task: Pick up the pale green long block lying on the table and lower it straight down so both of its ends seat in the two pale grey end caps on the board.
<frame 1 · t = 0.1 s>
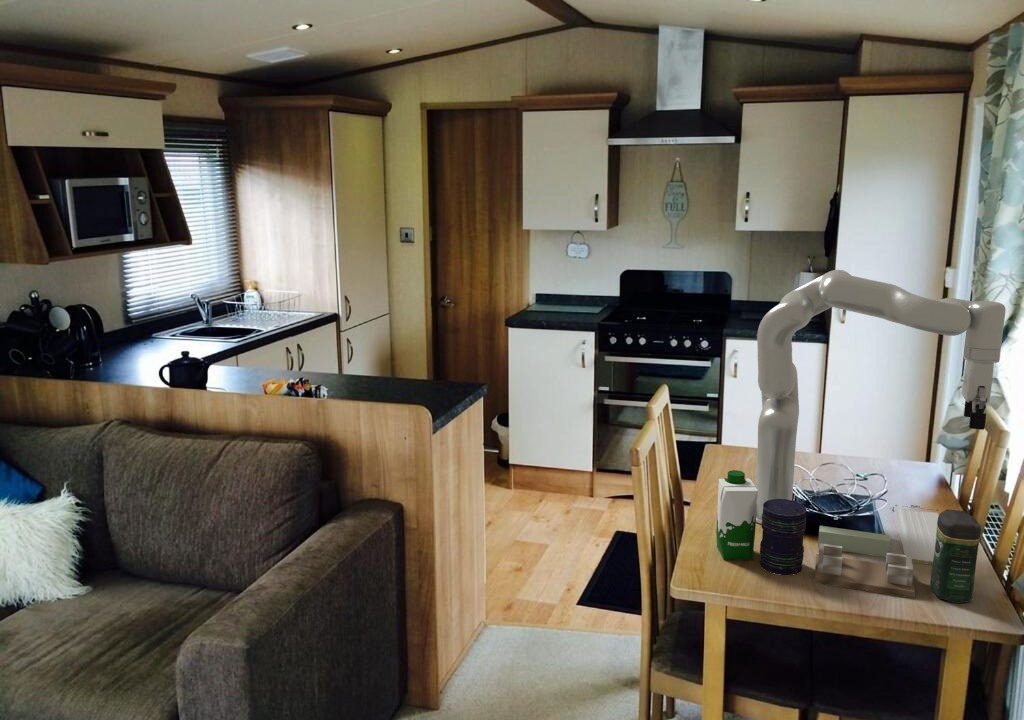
hand: (973, 422, 206), 31 cm above the table, tool pointing down, fingers open, 9 cm apart
coffee jar: (950, 594, 189), on the table
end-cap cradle: (862, 578, 196), on the table
baseboard molding: (919, 539, 217), on the table
milk carton: (734, 554, 209), on the table
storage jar: (780, 566, 202), on the table
pale green long block: (852, 550, 210), on the table
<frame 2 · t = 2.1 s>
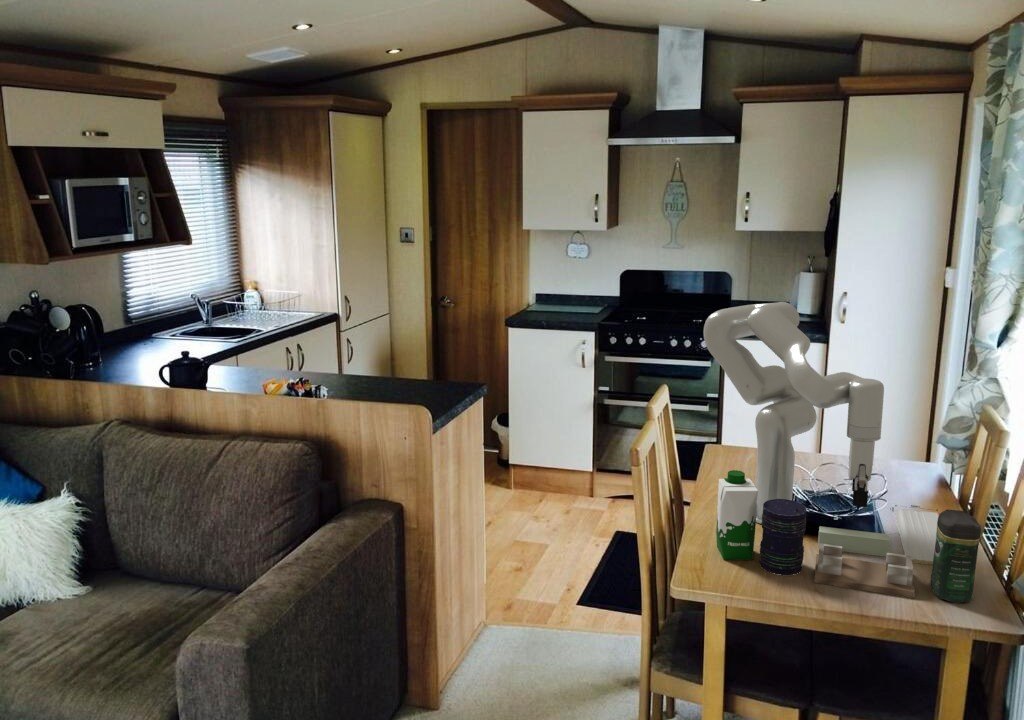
hand: (859, 498, 206), 13 cm above the table, tool pointing down, fingers open, 9 cm apart
nothing on the table moved.
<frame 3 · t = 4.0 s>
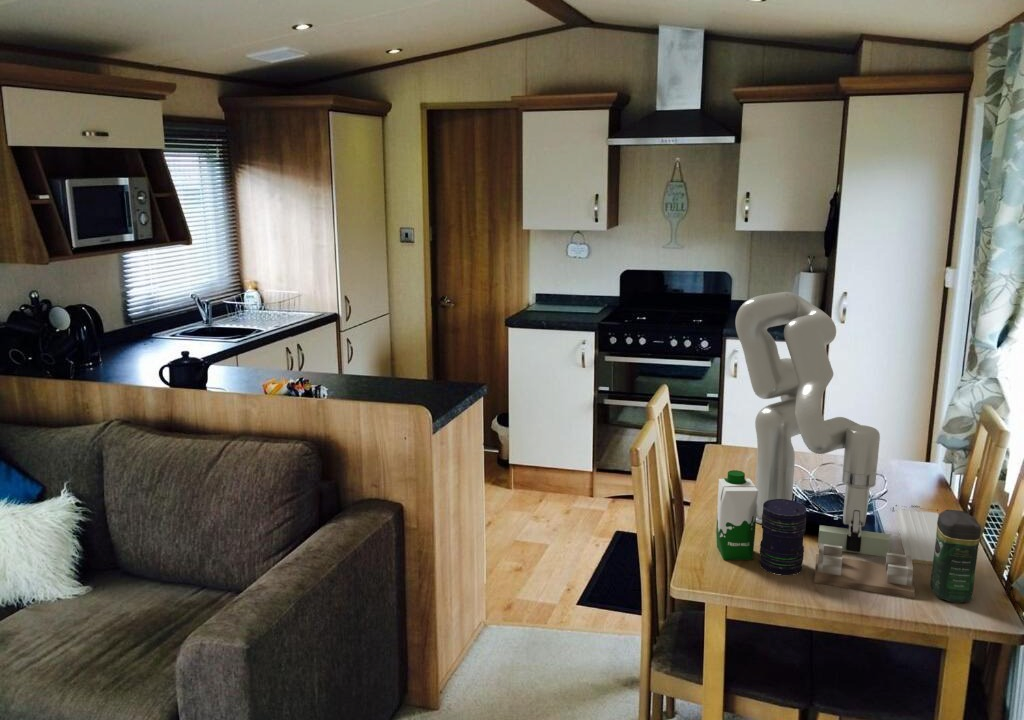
hand: (852, 546, 210), 1 cm above the table, tool pointing down, fingers closed on pale green long block, 3 cm apart
pale green long block: (852, 549, 210), on the table, touching gripper
everything else where it was.
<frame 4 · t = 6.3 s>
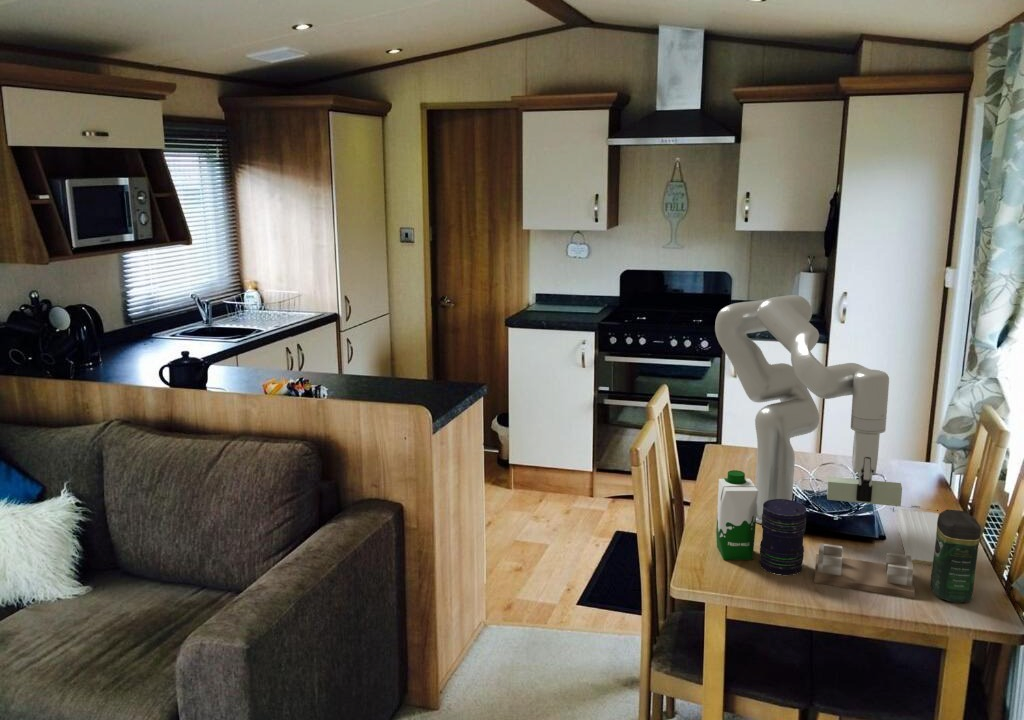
hand: (863, 497, 202), 16 cm above the table, tool pointing down, fingers closed on pale green long block, 3 cm apart
pale green long block: (863, 500, 202), point 15 cm above the table, touching gripper
everything else where it was.
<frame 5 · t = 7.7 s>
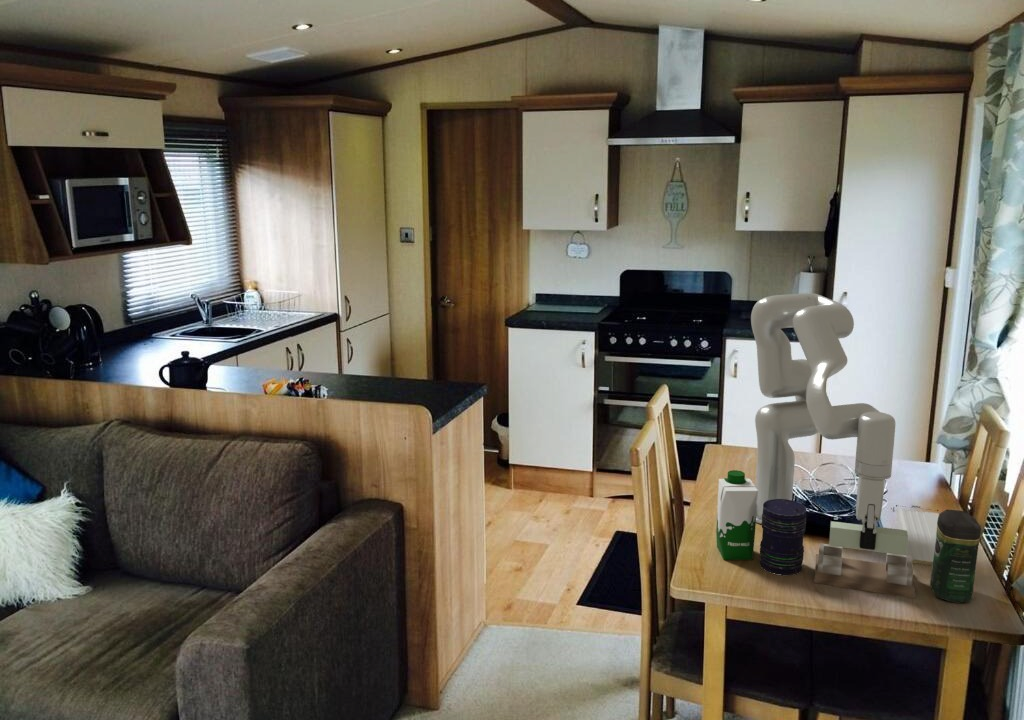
hand: (867, 543, 193), 9 cm above the table, tool pointing down, fingers closed on pale green long block, 3 cm apart
pale green long block: (867, 547, 194), point 8 cm above the table, touching gripper
everything else where it was.
when the fingers open (4 cm above the table, at t = 9.0 s): pale green long block drops 1 cm, resting on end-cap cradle.
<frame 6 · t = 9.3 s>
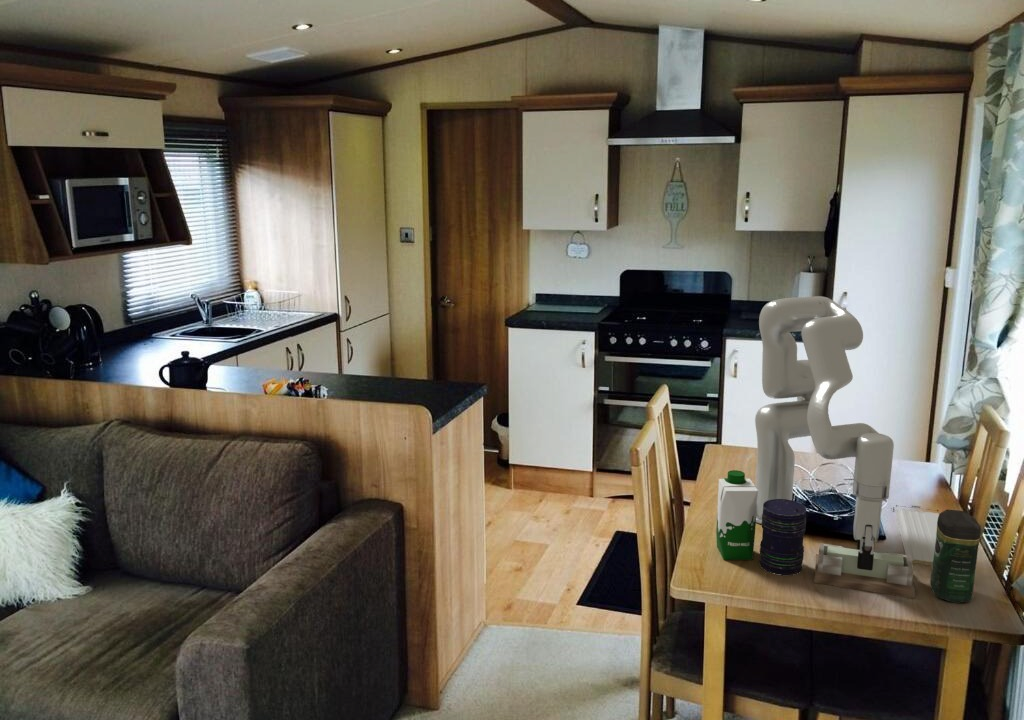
hand: (864, 561, 195), 4 cm above the table, tool pointing down, fingers open, 7 cm apart
pale green long block: (863, 572, 195), point 1 cm above the table, touching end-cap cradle
everything else where it was.
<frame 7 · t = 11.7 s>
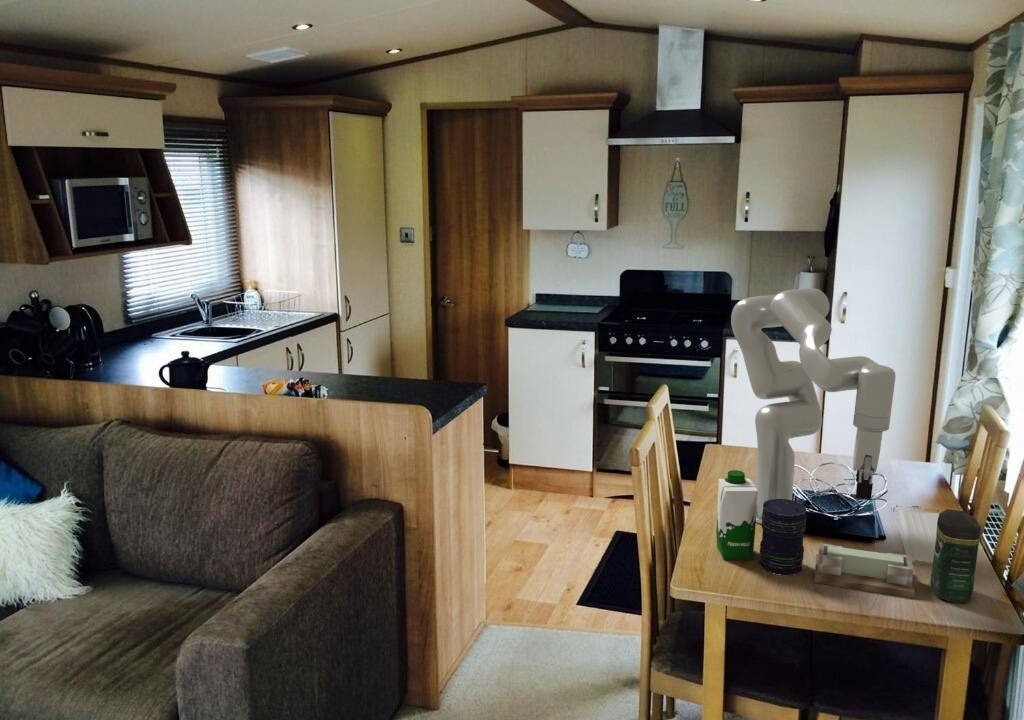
hand: (863, 490, 196), 19 cm above the table, tool pointing down, fingers open, 9 cm apart
nothing on the table moved.
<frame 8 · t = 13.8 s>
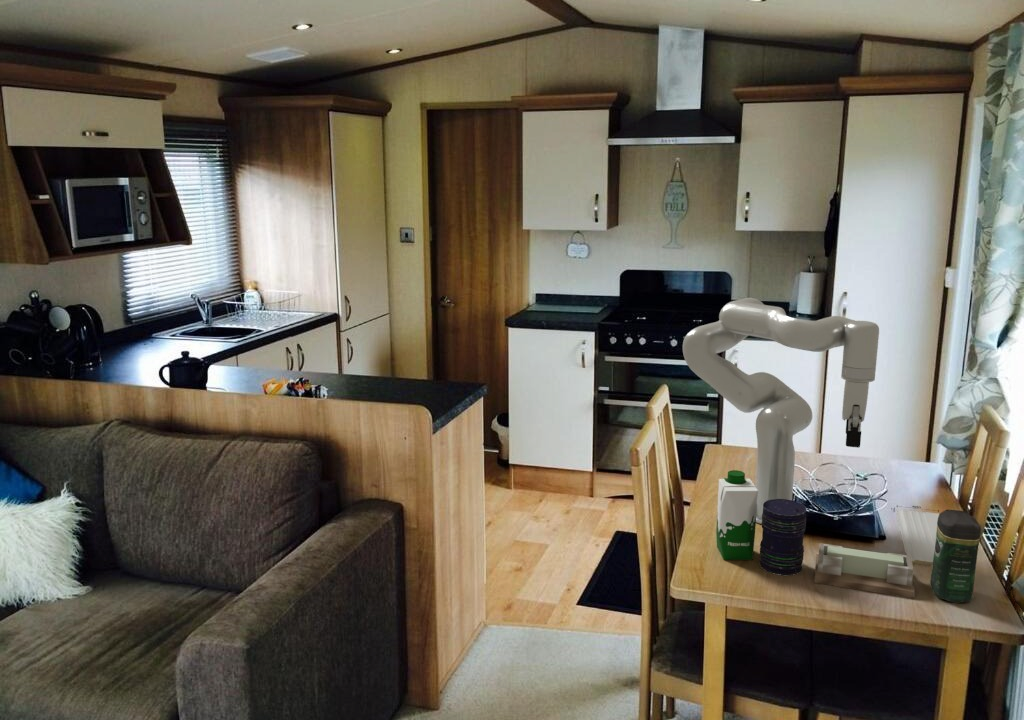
hand: (852, 440, 209), 26 cm above the table, tool pointing down, fingers open, 9 cm apart
nothing on the table moved.
at the end: pale green long block 0.0 cm off-centre on the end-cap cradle, point 1.5 cm above the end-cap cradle's base; pale green long block tilted 0°; the gripper is holding nothing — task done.
